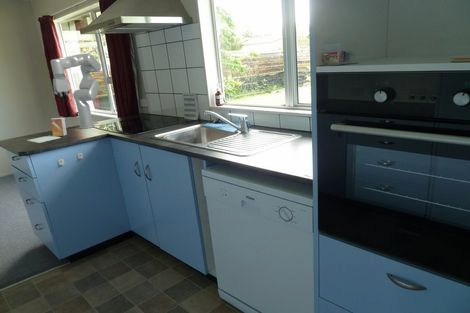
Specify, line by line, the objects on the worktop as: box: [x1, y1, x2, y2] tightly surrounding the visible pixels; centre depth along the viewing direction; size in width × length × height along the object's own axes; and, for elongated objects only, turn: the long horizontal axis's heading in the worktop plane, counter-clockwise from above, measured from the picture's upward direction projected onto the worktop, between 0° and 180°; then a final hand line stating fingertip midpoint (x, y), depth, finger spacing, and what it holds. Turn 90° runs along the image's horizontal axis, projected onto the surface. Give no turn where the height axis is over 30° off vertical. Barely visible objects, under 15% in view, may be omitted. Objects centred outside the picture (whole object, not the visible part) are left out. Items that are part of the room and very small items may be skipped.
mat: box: [26, 135, 62, 144], centre depth 247 cm, size 16×18×1 cm
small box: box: [50, 117, 68, 137], centre depth 254 cm, size 8×6×13 cm
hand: (64, 101), depth 256 cm, fingers open, 2 cm apart
